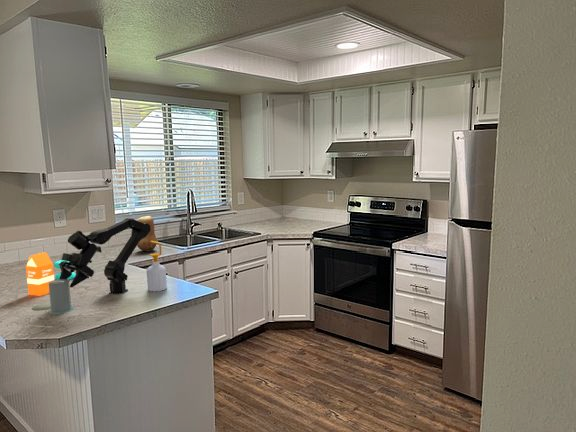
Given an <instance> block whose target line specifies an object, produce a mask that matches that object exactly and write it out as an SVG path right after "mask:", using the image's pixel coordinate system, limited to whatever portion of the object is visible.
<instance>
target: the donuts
mask: <svg viewBox="0 0 576 432" xmlns="http://www.w3.org/2000/svg"><path fill="white" fill-rule="evenodd" d="M62 261H65V260H61V259H60V260H57V261H55V262H54V263H53V268H56V269H59V270H61V268H60V266H59V264H60V263H61V262H62ZM66 262H69V261H66ZM60 275H61V271H60V272H59V273H57V274H55V275H54V280H58V279H59V278H60ZM75 276H76V272H75V271H74V272H73V273H72V275H71V276H70V277H69V278H67V279H68V280H69V281H71V280H73V279H74V277H75Z"/></svg>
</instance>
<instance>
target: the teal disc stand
mask: <svg viewBox="0 0 576 432" xmlns="http://www.w3.org/2000/svg"><path fill="white" fill-rule="evenodd" d="M71 307H72V308H71V309H70V310H68V311H65V312H59V313H54V312H52V311H51V309H48V311H47V312H48V314H50V315H51V314H52V315H59V314H65V313H68V312H71V311H73V310H74V309H75V307H74V306H73V305H71Z"/></svg>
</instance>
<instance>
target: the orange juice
mask: <svg viewBox="0 0 576 432" xmlns="http://www.w3.org/2000/svg"><path fill="white" fill-rule="evenodd" d="M25 271H26V272H25V273H26V282H27V290H28V296H38V297H42V296H44V295H48V294H49V285H48V284H49V282H50V281H53V280H55V273H54V263H53V261H52V260H51V257H49V255H48V253H47V252H46V251H43V252H40V253H36V254H31V255H30V256H29V258H28V260H27V263H26V265H25Z"/></svg>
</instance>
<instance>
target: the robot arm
mask: <svg viewBox="0 0 576 432" xmlns="http://www.w3.org/2000/svg"><path fill="white" fill-rule="evenodd" d="M128 229H131V235H130V237H129V239H128V240H127V242H126V243H125V244H124V246H123V247H122V250H121V251H120V252H119V254H118V255H117V257H116V258H115V259H114V260H108V262H107V264H106V265H105V266H104V269H103V272H104V276H105V277H106V278H107V281H109V283H108V284H109V292H108V294H109V295H122V294H124V293H126V292H127V291H128V290H129V289H127V286H126V281H128V278H129V276H128V274H127V273H125V269H126V268H125V267H126V266H125V265H126V263H127V262H128V260H129V258H130V257H131V255H132V254H133V252H134V251H135V249H136V248H137V247H138V246H137V245H138V243H139V242H140V240H142V239H143V238H145V237H146V236H147V235H148V234H149V233H150V231H151V229H150V225H149V224H147V223H142V222H139V221H137V220H136V219H135V218H130V217H129V218H128V217H127V218H124V220H123V219H122V220H121V221H119V222H116V223H115V224H112V225H111V226H108V227H107V228H104V229H102V228H101V229H98V230H95V231H91V232H90V233H89V234H87V235H86V234H84V233H83V231H81V230H76V232H74V233H73V234H71V235H70V236H69V237H68V239H67V242H68V244H70V245H71V246H73V247H74V248H75V249H77V251H80V252H79V253H77V252H72V254H70V253H65V252H63V253H62V256H61V258H60V260H65V261H62V262H61V263H60V264H59V266H60V268H61V269H60V272H61V275H60V278H59V279H67V278H69V277H70V276H71V275H72V273H73V272H74V273H75V277H74V278H73V279H72V281H71V282H70V284H69V287H70V288H74V287H75V286H77V285H79V284H80V283H81V282H84V281H85V280H87V279H90V278H92V277H94V274H95V271H94V269H92V268H91V267H89V266H88V264H89V263H90V264H91V263H92V262H93V261H92V259H93V257H94V256H95V255H96V253H102V246H99V245H105V244H106V243H107V242H108V241H110V239H111V238H112V237H113V236H116V235H117V234H120V233H121V232H124V231H126V230H128ZM66 261H69V262H66Z"/></svg>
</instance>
